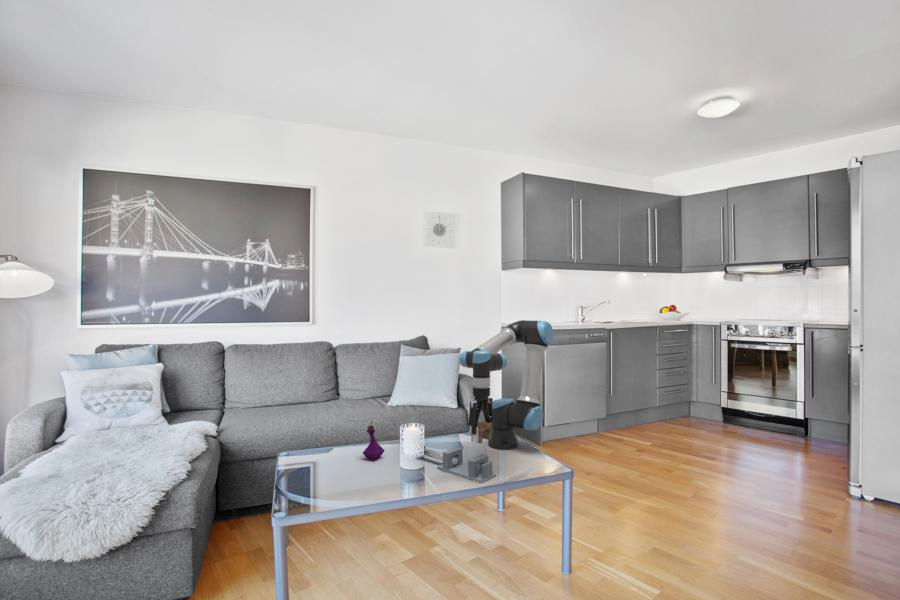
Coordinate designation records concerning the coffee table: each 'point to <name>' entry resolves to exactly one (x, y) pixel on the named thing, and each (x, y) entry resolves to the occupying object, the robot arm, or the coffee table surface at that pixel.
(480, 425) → the spacer
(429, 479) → the coffee table surface
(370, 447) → the perfume bottle
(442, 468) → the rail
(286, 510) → the coffee table surface
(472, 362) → the robot arm
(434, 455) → the shaft
